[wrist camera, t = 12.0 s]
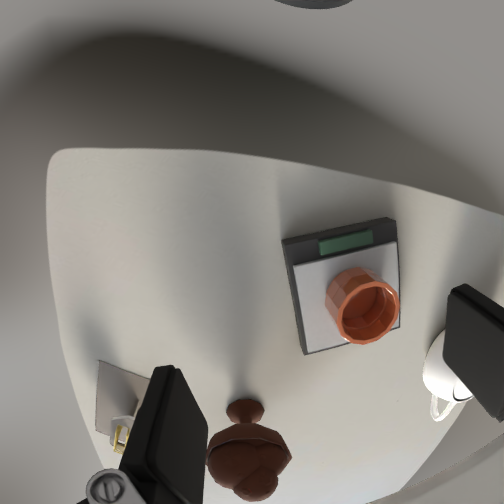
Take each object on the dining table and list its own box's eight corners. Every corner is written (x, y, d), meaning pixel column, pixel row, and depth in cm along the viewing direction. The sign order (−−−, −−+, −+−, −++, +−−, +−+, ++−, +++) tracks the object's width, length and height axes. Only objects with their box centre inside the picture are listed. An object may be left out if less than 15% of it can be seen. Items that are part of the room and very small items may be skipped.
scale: (280, 240, 33) (285, 247, 30) (386, 216, 33) (399, 221, 30) (300, 345, 37) (305, 359, 34) (392, 319, 37) (402, 330, 34)
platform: (95, 430, 41) (84, 456, 34) (99, 360, 36) (81, 388, 30) (158, 453, 42) (152, 480, 36) (178, 389, 38) (170, 421, 32)
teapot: (443, 397, 42) (470, 432, 32) (390, 396, 41) (417, 441, 30) (500, 290, 37) (541, 316, 27) (455, 272, 35) (504, 301, 25)
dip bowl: (319, 273, 31) (333, 292, 26) (378, 259, 31) (399, 273, 26) (326, 328, 33) (339, 352, 28) (381, 312, 33) (399, 333, 28)
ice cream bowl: (292, 391, 39) (312, 475, 24) (267, 438, 42) (276, 514, 27) (218, 377, 38) (212, 467, 23) (202, 427, 40) (194, 506, 26)
